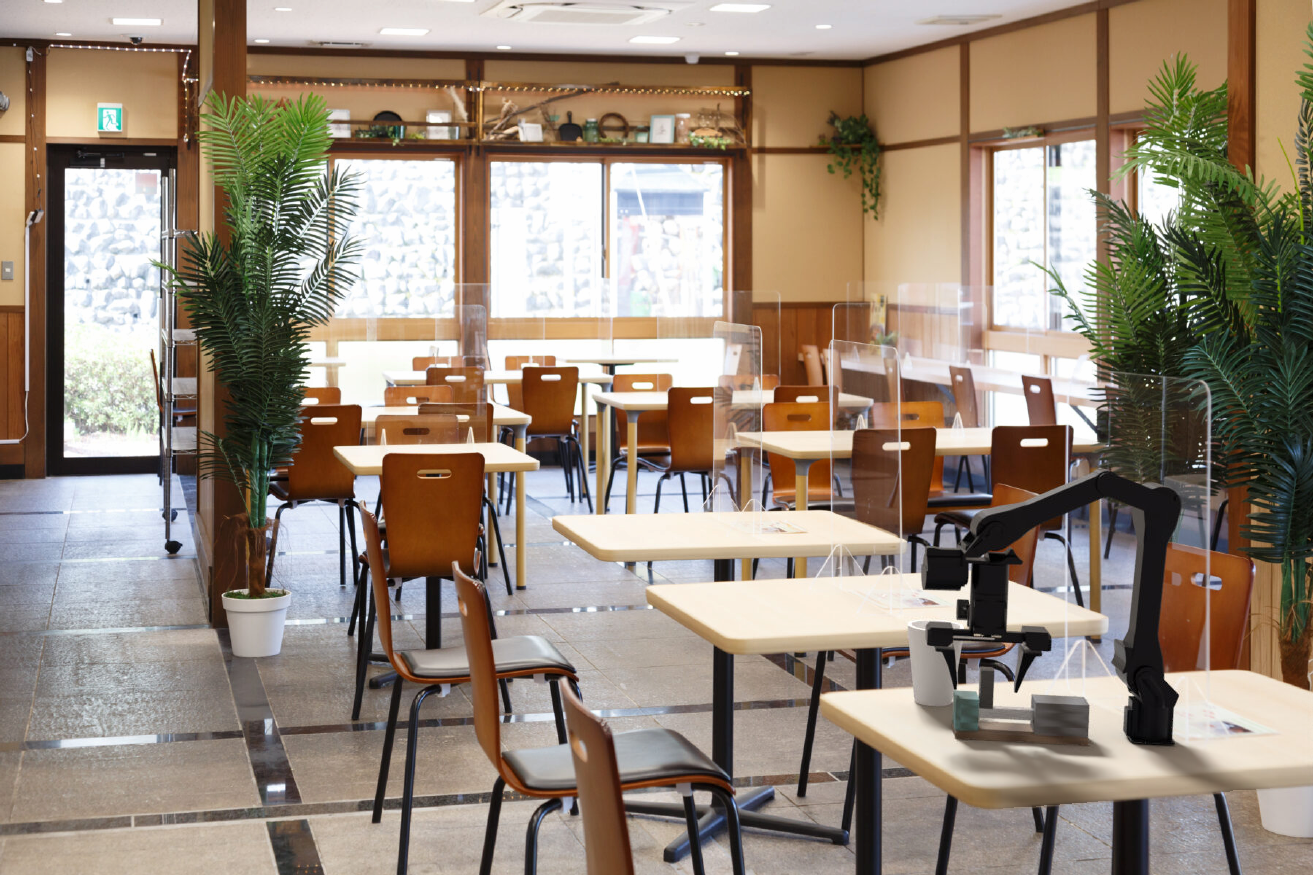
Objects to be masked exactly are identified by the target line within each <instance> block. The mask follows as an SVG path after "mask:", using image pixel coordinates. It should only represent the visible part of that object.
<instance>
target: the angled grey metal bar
mask: <svg viewBox="0 0 1313 875" xmlns="http://www.w3.org/2000/svg"><path fill="white" fill-rule="evenodd" d="M978 675H979V677H978V678H979V679H978V680H979V681H978V698H979V719H991V720H992V719H996V720H997V719H998V720H1015V721H1034V708H1031V707H1024V706H1023V707H1021V706H1005V705H1004V706H1002V705H994V694H995V693H994V691H995V668H994V667H993V666H979V674H978Z"/></svg>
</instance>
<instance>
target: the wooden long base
mask: <svg viewBox="0 0 1313 875" xmlns="http://www.w3.org/2000/svg"><path fill="white" fill-rule="evenodd" d="M1030 696H1031V697H1030V698H1031V699H1030V708H1034V721H1030V720H1029V721H1030V722H1029V723H1023V722H1007V721H1006V722H1003V721H1000V722H999V721H987V720H985V721H982V720H979V719H980V718H979V694H978V693H977V691H974V690H958V689H957V690H954V693H953V700H952V719H951V727H952V728H951V729H952V731H953V732H952V733H953V736H954V739H956V740H957V739H958V740H959V739H961V740H975V741H994V742H1013V743H1016V742H1017V743H1027V744H1029V743H1030V744H1031V743H1032V744H1049V745H1064V746H1065V745H1066V746H1069V745H1070V746H1085V747H1089V746H1090V738H1089V727H1090V726H1089V725H1090V704H1089V703H1088V701H1087V699H1086V697H1084V696H1071V695H1069V696H1068V695H1053V694H1052V695H1051V694H1035V693H1033V694H1031V695H1030Z"/></svg>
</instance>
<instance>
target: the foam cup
mask: <svg viewBox="0 0 1313 875" xmlns="http://www.w3.org/2000/svg"><path fill="white" fill-rule="evenodd" d="M928 622H951V624H952V627H953V628H954V629H965V627H964V625H963V624H961V623H959V622H955V621H950V620H942V619H915V620H911V621H908V622H907V632H906V633H907V634H906V637H907V640H908V646H909V648H908V649H909V655H910V656H909V657H910V668H911V677H912V678H911V679H912V690H913V700H914V702H915V703H917V704H919V705H923V706H929V707H944V706H945V707H947V706H950V705H951V704H952V705H953V693H954V687H953V684H952V680H951V676H950V672H949V669H948V665H947V663H946V660H945V658H944V656H943V653H942V652H937V651H935V648H934V646H929V645H927V643H926V639H925V628H926V624H927V623H928ZM964 642H965V641H953V646H954V649H955V658H956V671H957V672H958V671H959V664H960V658H961V652H962V647H963V643H964Z"/></svg>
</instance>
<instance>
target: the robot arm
mask: <svg viewBox="0 0 1313 875" xmlns="http://www.w3.org/2000/svg"><path fill="white" fill-rule="evenodd" d="M1104 498H1111V499H1114V500H1116V501H1118V502H1121V503H1124V504H1126V505H1128V506H1130V507H1131V515H1132V522H1133V527H1134V531H1135V535H1136V541H1137V542H1136V552H1135V560H1134V562H1135V563H1134V571H1133V573H1134V574H1133V580H1132V590H1131V591H1132V592H1131V601H1130V602H1131V603H1130V612H1129V614H1130V615H1129V622H1128V623H1129V624H1128V629H1127V631H1126V634H1125V636H1124V638H1123V639H1118V638H1114V639H1113V648H1114V649H1113V650H1114V653H1113V658H1112V660H1111V662H1110V663H1111V665H1113V666H1114V668H1115V669H1114V670H1115V674H1116V675H1117V677H1118V679H1120V681H1121V682H1122V683H1123V684H1125V685H1126V688H1127V692H1129V693H1130V694H1132V695H1128V698H1127V699H1128V700H1127V701H1128V703H1127V705H1125V706H1124V707H1123V727H1122V731H1123V732H1124V734H1125V735H1126V736H1127V738H1128V739H1129V741H1130V742H1131V743H1132V744H1149V745H1166V746H1168V745H1169V746H1175V745H1176V741H1175V740H1174V738H1173V736H1174V735H1173V732H1174V731H1173V730H1174V714H1175V712H1174V710H1175V706H1176V704H1177V702H1178V700H1179V697H1180V694H1179V693H1178V691H1176V689H1174V688H1173V687H1172V685H1171V684H1169V683H1168V682H1167V681H1166V680H1165V665H1164V656H1163V651H1162V647H1161V642H1160V636H1159V632H1160V631H1159V630H1160V622H1161V612H1162V611H1161V610H1162V603H1163V602H1162V601H1163V592H1164V582H1165V570H1166V561H1167V560H1166V559H1167V552H1168V550H1167V549H1168V545H1169V543H1170V541H1171V539H1172V537H1173V535H1174V533H1175V531H1176V528H1177V526H1178V522H1179V520H1180V519H1179V518H1180V516H1181V512H1182V506H1183V504H1182V503H1183V502H1182V498H1181V496H1179V494H1178V493H1177V492H1176V491H1175V490H1174V489H1172V488H1170V487H1168V486H1165V485H1163V484H1160V483H1157V482H1152V481H1151V482H1150V481H1149V482H1144V483H1138V482H1135V481H1133V480H1131V479H1129V478H1126V477H1123V476H1119V474H1117V473H1116V472H1114V471H1111V470H1109V469H1108V468H1107V469H1106V468H1097V469H1095V470H1093V471H1092V472H1091V473H1089V474H1088V473H1087V474H1086V475H1085V476H1081V477H1079V478H1077V479H1075V480H1072V481H1070V482H1068V483H1065V484H1063V485H1060V486H1058V487H1055V488H1053V489H1051V490H1049V491H1046V492H1044V493H1042V494H1038V495H1036V496H1034V497H1032V498H1029V499H1028V500H1025V501H1021V502H1016V503H1010V504H1003V505H998V506H994V507H991V508H986V509H985V508H984V509H981V510H979V511H978V512H976V513H975V514H974V515H973V517H972V519H971V521H970V525H969V526H970V528H969V530H968V531H967V533H966V534H965V535H964V536H963V538H962V539H961V540H960V542H959V543H958V544H957V545H956V547H940V546H939V547H938V546H935V545H926V546H925V547H924V555H923V559H922V564H920V567H921V568H920V581H921V588H922V591H945V592H946V591H949V592H960V591H961V589H962V588H965V587H966V586H967V585H968V584H969V576H970V587H969V588H970V589H969V591H970V593H969V599H966V598H965V599H963V598H962V599H961V598H957V600H956V606H955V608H956V610H955V611H956V612H955V614H956V616H955V618H956V620H957V621H966V628H964V629H954V628H953V627H952V624H951V622H952V621H950V622H928V623H927V624H926V628H925V639H926V643H927V645H929V646H934V648H935V651H937V652H942V653H943V656H944V658H945V660H946V663H947V665H948V669H949V672H950V676H951V680H952V684H953V687H954V690H958V671H956V658H955V649H954V646H953V641H964V642H975V643H977V642H978V643H999V644H1002V643H1003V644H1016V645H1017V644H1018V649H1017V651H1018V652H1017V660H1016V668H1015V672H1014V674H1015V675H1014V680H1013V692H1014V694H1018V692H1019V690H1020V687H1021V685H1022V684H1023V681H1024V679H1025V676H1026V675H1027V673H1028V671H1029V669H1030V667H1031V665H1032V663H1033V662H1034V661H1035V659H1036V658H1038V657H1039V658H1040V657H1042V656H1043V652H1052V642H1053V640H1052V635H1051V634H1050V632H1049V631H1048V629H1047V628H1046V627H1045V626H1040V625H1039V626H1037V625H1021V628H1020V630H1017V631H1013V630H1008V606H1009V602H1008V601H1009V580H1010V566H1011V565H1013V566H1014V565H1015V566H1021V565H1023V564H1024V560H1023V559H1021V558H1020V557H1019V556H1018V555H1017V554H1016V552H1015V550H1014V549H1013V548H1012V547H1011V545H1013V544H1014V543H1016V542H1017V541H1018V540H1020V539H1022V538H1023V537H1025V535H1026V534H1028V533H1029V532H1030V531H1031V530H1033V529H1034V528H1036V527H1038V526H1039V525H1041V524H1044V523H1047V522H1049V521H1051V520H1054V519H1057V518H1059V517H1061V516H1064V515H1066V514H1068V513H1071V512H1073V511H1075V510H1078V509H1080V508H1083V507H1085V506H1088V505H1090V504H1092V503H1094V502H1097V501H1099V500H1102V499H1104ZM1006 548H1007V549H1006ZM1005 549H1006V550H1005ZM970 564H971V565H970ZM969 566H971V567H970V568H969ZM969 569H970V570H969ZM969 573H970V574H969Z"/></svg>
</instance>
